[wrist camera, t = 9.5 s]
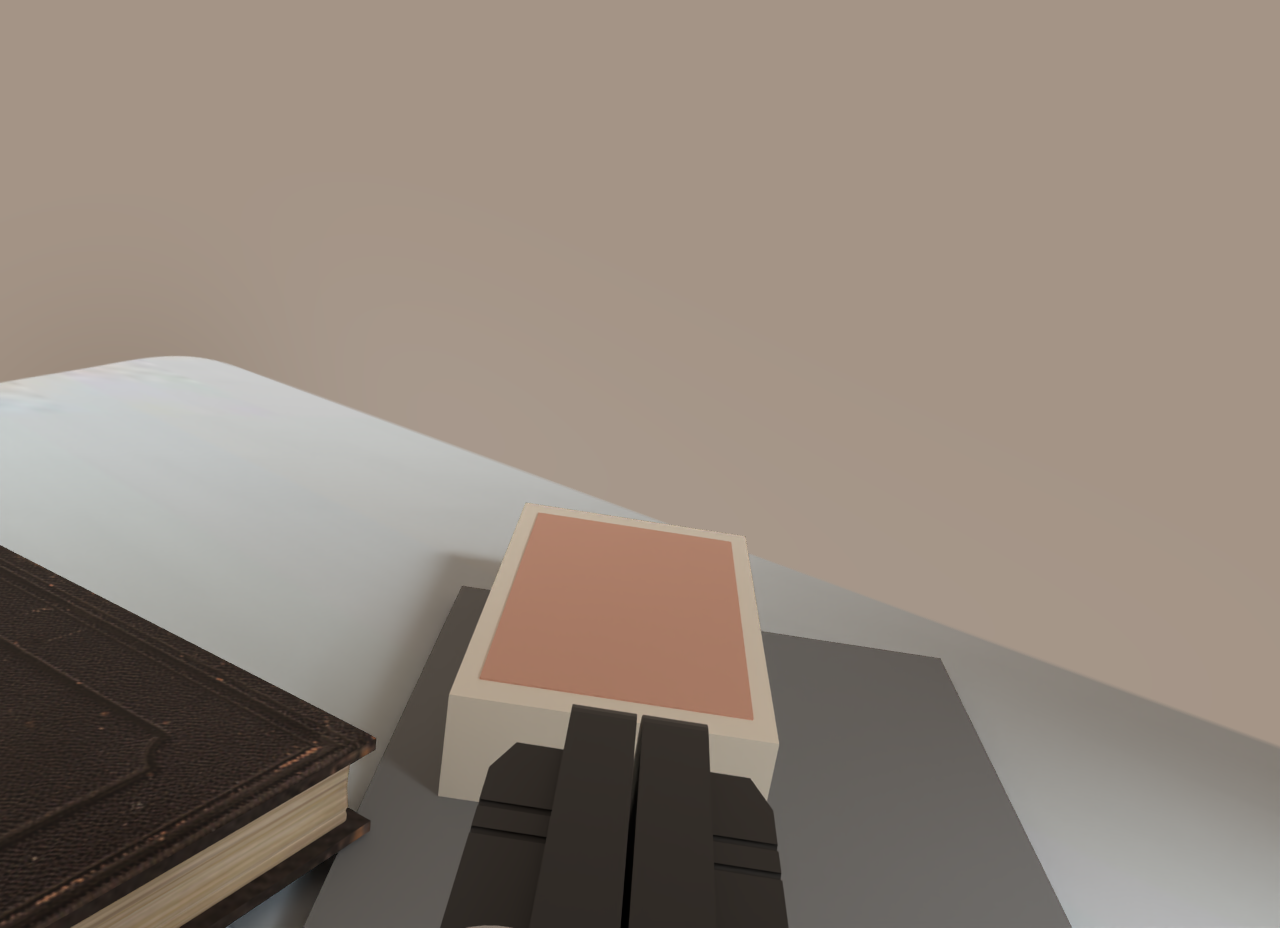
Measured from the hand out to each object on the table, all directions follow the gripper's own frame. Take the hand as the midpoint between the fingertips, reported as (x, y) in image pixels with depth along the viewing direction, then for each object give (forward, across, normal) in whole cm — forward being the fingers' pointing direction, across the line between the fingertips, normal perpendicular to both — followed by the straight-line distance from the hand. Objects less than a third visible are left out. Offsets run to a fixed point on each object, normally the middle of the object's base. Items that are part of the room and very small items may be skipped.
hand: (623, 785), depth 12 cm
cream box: (+10, 0, +6) cm, 12 cm away
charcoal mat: (+13, -2, +8) cm, 15 cm away
